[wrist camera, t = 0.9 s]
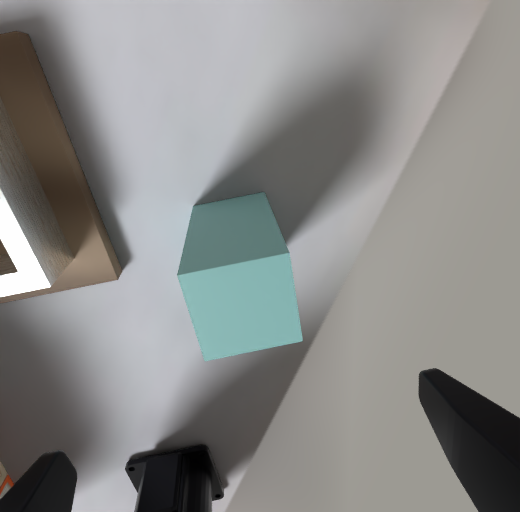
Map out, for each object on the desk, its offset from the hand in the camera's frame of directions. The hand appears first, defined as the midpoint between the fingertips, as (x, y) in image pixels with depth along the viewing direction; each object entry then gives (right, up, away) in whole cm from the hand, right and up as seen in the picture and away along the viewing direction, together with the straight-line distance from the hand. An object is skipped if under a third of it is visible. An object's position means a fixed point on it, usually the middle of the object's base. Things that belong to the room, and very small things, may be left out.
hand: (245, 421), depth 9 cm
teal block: (-1, +5, +12) cm, 13 cm away
